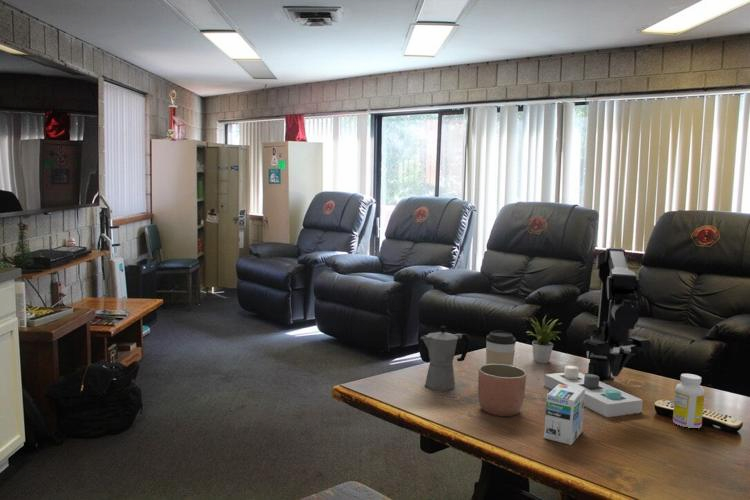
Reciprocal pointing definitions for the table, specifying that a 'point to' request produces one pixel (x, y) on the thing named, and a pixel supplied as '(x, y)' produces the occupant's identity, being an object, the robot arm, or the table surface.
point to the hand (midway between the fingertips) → (614, 376)
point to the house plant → (543, 341)
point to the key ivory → (571, 373)
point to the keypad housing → (598, 396)
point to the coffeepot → (443, 358)
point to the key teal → (613, 394)
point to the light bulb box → (564, 414)
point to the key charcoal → (591, 381)
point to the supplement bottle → (689, 402)
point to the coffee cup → (500, 348)
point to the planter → (501, 389)
